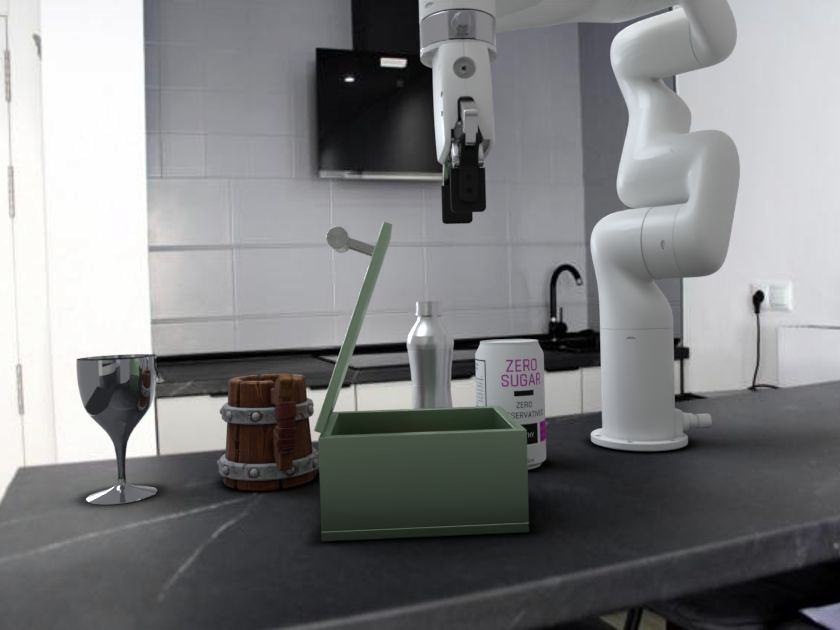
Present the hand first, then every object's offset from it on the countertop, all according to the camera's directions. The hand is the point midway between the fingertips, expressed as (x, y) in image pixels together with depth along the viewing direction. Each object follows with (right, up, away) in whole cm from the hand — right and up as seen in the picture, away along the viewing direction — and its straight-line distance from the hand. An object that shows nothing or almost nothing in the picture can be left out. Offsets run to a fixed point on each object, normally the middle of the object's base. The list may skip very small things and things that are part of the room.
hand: (462, 217), depth 69 cm
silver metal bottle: (-2, -28, +25) cm, 37 cm away
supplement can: (+7, -28, +16) cm, 33 cm away
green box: (-4, -29, -3) cm, 29 cm away
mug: (-21, -29, +11) cm, 37 cm away
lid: (-10, -11, -3) cm, 15 cm away
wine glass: (-37, -29, +7) cm, 47 cm away
